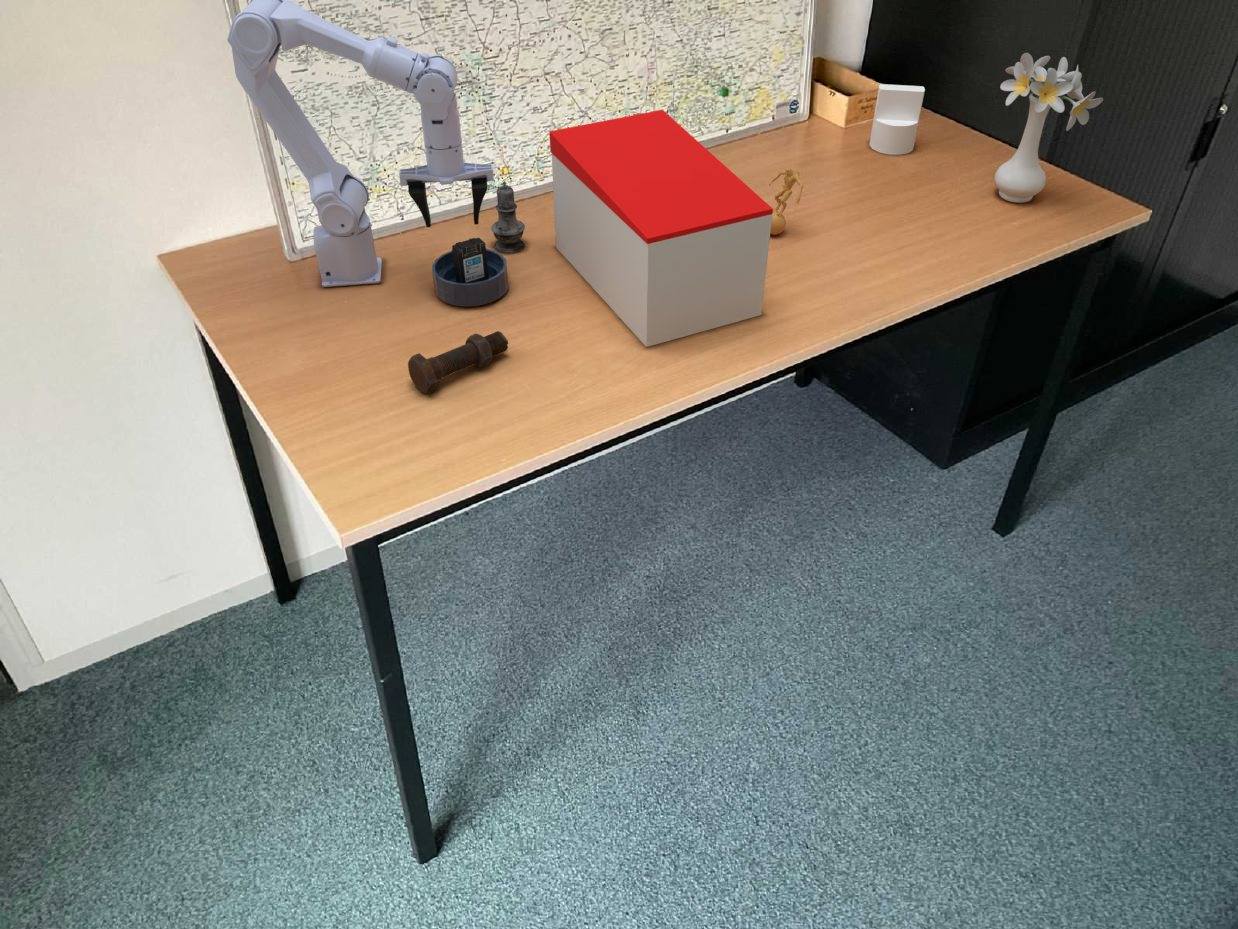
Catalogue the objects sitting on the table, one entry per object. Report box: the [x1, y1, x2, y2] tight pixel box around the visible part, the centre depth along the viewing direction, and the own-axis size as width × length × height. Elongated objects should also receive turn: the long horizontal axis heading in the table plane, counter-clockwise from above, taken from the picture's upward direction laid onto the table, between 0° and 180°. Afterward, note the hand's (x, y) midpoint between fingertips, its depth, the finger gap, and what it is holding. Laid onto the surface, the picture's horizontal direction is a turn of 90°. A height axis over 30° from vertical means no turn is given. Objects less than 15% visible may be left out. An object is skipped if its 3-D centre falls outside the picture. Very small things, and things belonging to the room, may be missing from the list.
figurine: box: [768, 167, 804, 236], centre depth 176 cm, size 8×6×12 cm
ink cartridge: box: [451, 237, 489, 283], centre depth 162 cm, size 5×2×8 cm, turn 123°
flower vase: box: [993, 52, 1104, 204], centre depth 182 cm, size 13×18×25 cm
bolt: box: [407, 330, 509, 395], centre depth 146 cm, size 6×5×15 cm
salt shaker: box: [490, 181, 526, 254], centre depth 173 cm, size 6×6×12 cm
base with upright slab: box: [868, 83, 926, 156], centre depth 205 cm, size 9×9×12 cm
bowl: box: [431, 248, 509, 307], centre depth 164 cm, size 12×12×4 cm
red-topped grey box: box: [548, 109, 774, 348], centre depth 161 cm, size 21×35×21 cm, turn 26°
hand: (452, 222), depth 163 cm, fingers open, 7 cm apart
